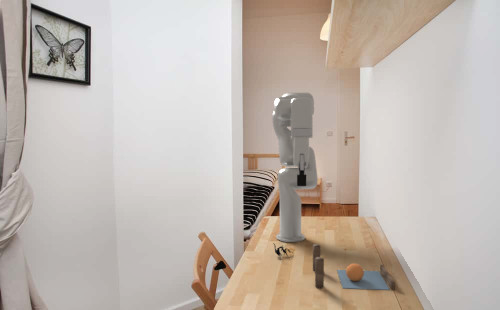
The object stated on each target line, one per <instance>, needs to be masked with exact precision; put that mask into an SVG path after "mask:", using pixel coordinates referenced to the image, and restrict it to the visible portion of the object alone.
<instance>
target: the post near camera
mask: <svg viewBox="0 0 500 310" xmlns="http://www.w3.org/2000/svg"><path fill="white" fill-rule="evenodd" d="M324 262H325V257H322V256H320V257H316V258H315V272H314V275H315V276H314V279H315V281H314V282H315V283H314V286H315V288H316V289H323V288H324V286H325V284H324V282H325V278H324V277H325V269H324V267H325V266H324V265H325V263H324Z"/></svg>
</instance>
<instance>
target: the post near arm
mask: <svg viewBox="0 0 500 310" xmlns="http://www.w3.org/2000/svg"><path fill="white" fill-rule="evenodd" d="M316 257H321V244H319V243H314V244H312V272H314V273H315V258H316Z"/></svg>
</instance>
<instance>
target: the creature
mask: <svg viewBox="0 0 500 310" xmlns="http://www.w3.org/2000/svg"><path fill="white" fill-rule="evenodd" d="M272 244H273V246H274V252H275V254H276V255H277V256H278V257H280V256H281V258H285V257H284V256H283V255H286V257H287V258H291V257H290V256H289V255H288V253H292V254H294V252H293V251H292V250H290V249H288V248H287V247H285V246H284V245H281V246H278V247H277V246H276V243H274V242H273V243H272ZM287 251H288V253H287ZM281 252H283V254H282V253H281Z"/></svg>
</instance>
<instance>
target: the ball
mask: <svg viewBox="0 0 500 310" xmlns="http://www.w3.org/2000/svg"><path fill="white" fill-rule="evenodd" d="M345 270H346V274H347V277H348V278H349V279H350V280H352V281H359V280H361V279H362V278H363V275H364V271H365V270H364V269H363V267H362V266H361V265H360V264H358V263H350V264H349V265H347V266H346V269H345Z"/></svg>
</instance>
